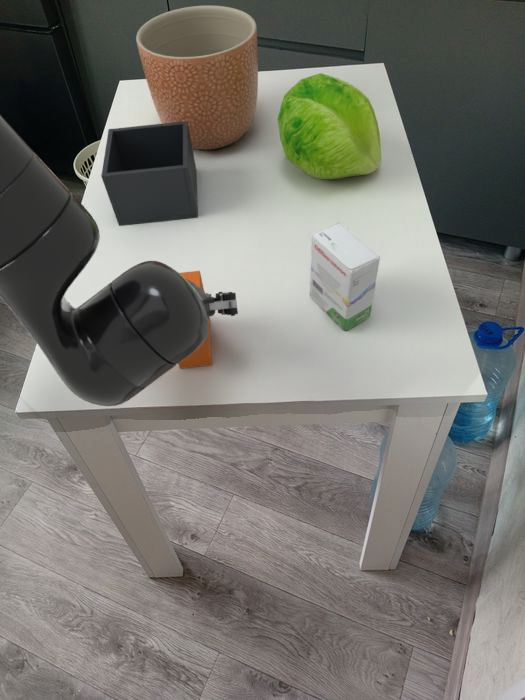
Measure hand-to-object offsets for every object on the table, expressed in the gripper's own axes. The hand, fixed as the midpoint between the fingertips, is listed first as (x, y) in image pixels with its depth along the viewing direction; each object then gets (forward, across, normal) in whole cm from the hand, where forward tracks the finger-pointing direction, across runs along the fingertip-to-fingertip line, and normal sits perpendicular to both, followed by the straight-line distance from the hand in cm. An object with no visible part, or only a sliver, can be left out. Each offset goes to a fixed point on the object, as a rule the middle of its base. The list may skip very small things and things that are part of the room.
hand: (187, 304), depth 68 cm
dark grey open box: (+27, +6, -18) cm, 33 cm away
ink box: (+6, -21, +3) cm, 22 cm away
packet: (+3, 0, +6) cm, 6 cm away
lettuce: (+29, -25, -20) cm, 44 cm away
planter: (+41, -4, -32) cm, 52 cm away
